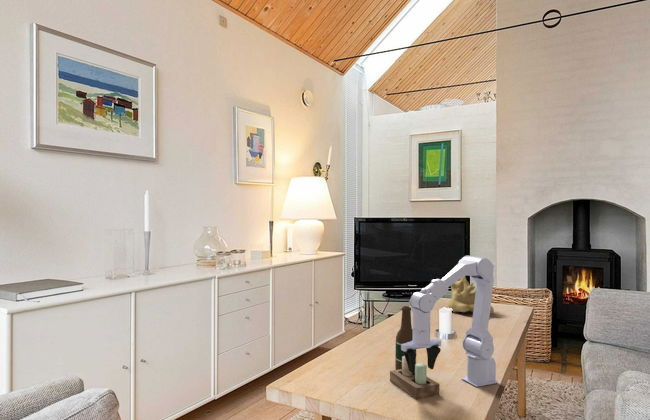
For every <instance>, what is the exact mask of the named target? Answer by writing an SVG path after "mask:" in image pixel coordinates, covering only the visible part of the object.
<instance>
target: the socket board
mask: <svg viewBox="0 0 650 420" xmlns="http://www.w3.org/2000/svg"><path fill="white" fill-rule="evenodd" d="M389 382H391V383H392V384H393V385H395V386H397V387H398V388H400V389H401V390H402V391H404V392H405V393H406V394H408V395H409V396H411V397H413V398H414V399H416V400H419V399H423V398H424V399H425V398H429V397H434V396H440V383H438V382H437V381H435V380H434V379H432V378H430V377H428V376H427V375H426V384H425V385H417V384H416V383H415V369H414V373H412V376H406V377H405V376H403V375H402V369H399V370H396V369H394V370H389Z"/></svg>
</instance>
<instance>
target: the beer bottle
mask: <svg viewBox="0 0 650 420" xmlns="http://www.w3.org/2000/svg"><path fill="white" fill-rule="evenodd" d="M400 310H401V321H400V322H401V323H400V329H399V330H398V331H397V333H396V336H395V356H394V357H395V370H399V369H402V357H403V356H404V354H403V352H402V350H401V344H404V343H407V342H410V341H413V325H412V307H411V306H410V305H409V306H407V305H403V306H402V307H401V309H400ZM413 351H414V353H416V354H417V349H414V350H413ZM416 364H417V357H416V358H415V365H416Z"/></svg>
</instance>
